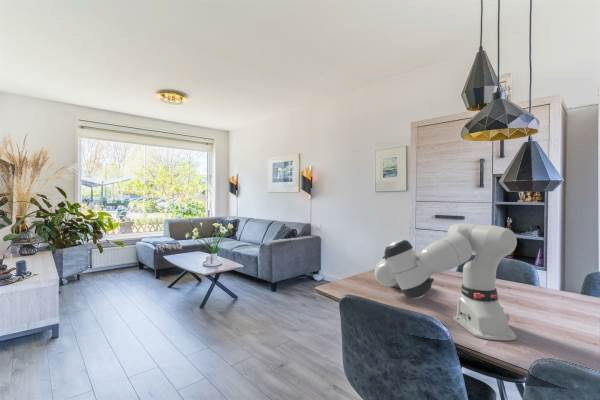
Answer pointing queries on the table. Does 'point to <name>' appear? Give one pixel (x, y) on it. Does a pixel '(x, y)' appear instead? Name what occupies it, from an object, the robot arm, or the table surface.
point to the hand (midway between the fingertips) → (397, 265)
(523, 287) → the table surface
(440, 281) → the table surface
